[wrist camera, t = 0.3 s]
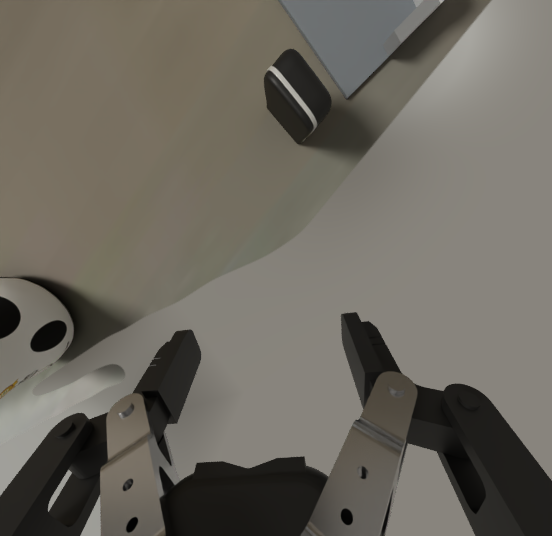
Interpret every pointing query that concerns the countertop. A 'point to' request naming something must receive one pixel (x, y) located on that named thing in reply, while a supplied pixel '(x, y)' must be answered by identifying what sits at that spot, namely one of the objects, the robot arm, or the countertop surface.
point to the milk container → (30, 331)
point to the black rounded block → (296, 95)
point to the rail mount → (356, 33)
